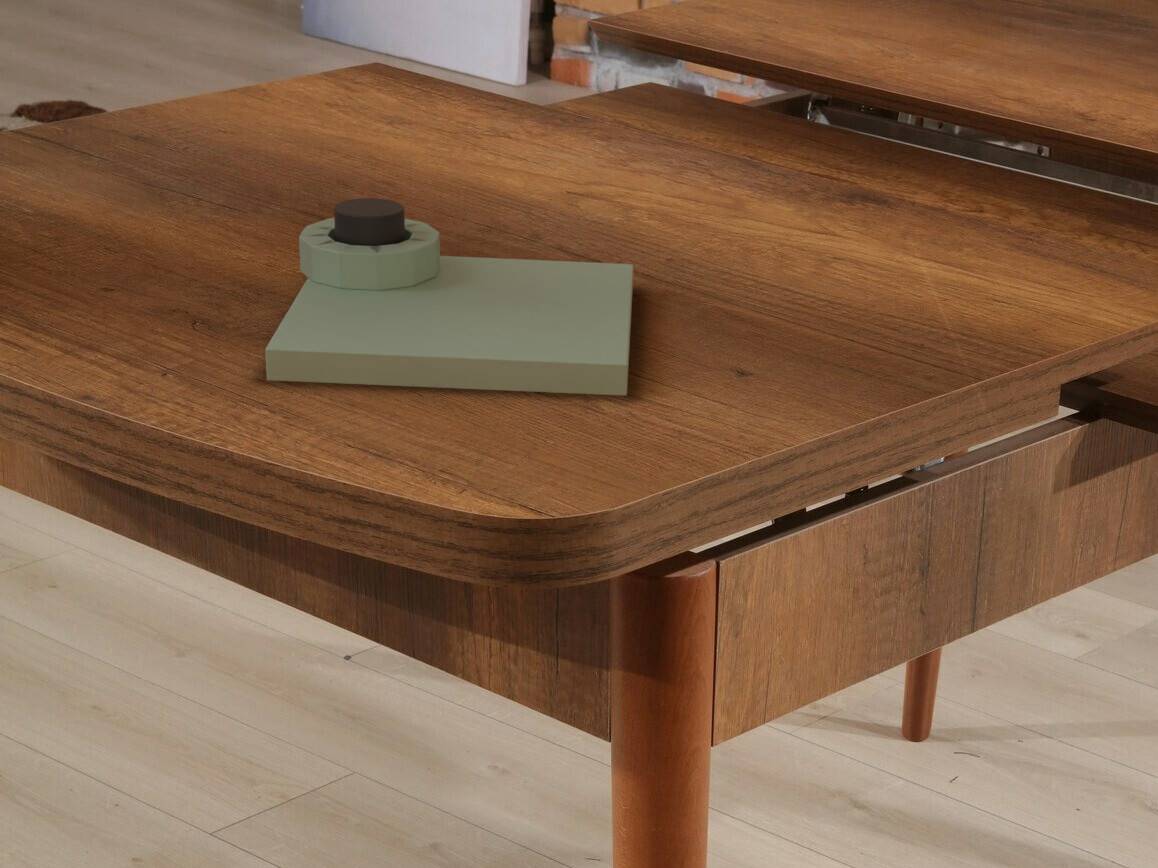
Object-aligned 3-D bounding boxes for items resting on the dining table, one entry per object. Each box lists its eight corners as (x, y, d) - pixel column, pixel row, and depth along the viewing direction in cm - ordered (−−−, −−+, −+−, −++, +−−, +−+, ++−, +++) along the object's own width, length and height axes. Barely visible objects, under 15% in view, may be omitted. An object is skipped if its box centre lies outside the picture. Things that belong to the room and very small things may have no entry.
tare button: (329, 250, 76) (328, 215, 75) (341, 230, 79) (340, 196, 78) (399, 253, 76) (399, 218, 75) (409, 233, 79) (408, 199, 78)
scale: (254, 381, 69) (250, 308, 68) (316, 276, 81) (314, 212, 80) (626, 397, 69) (629, 324, 68) (632, 290, 81) (635, 226, 80)
